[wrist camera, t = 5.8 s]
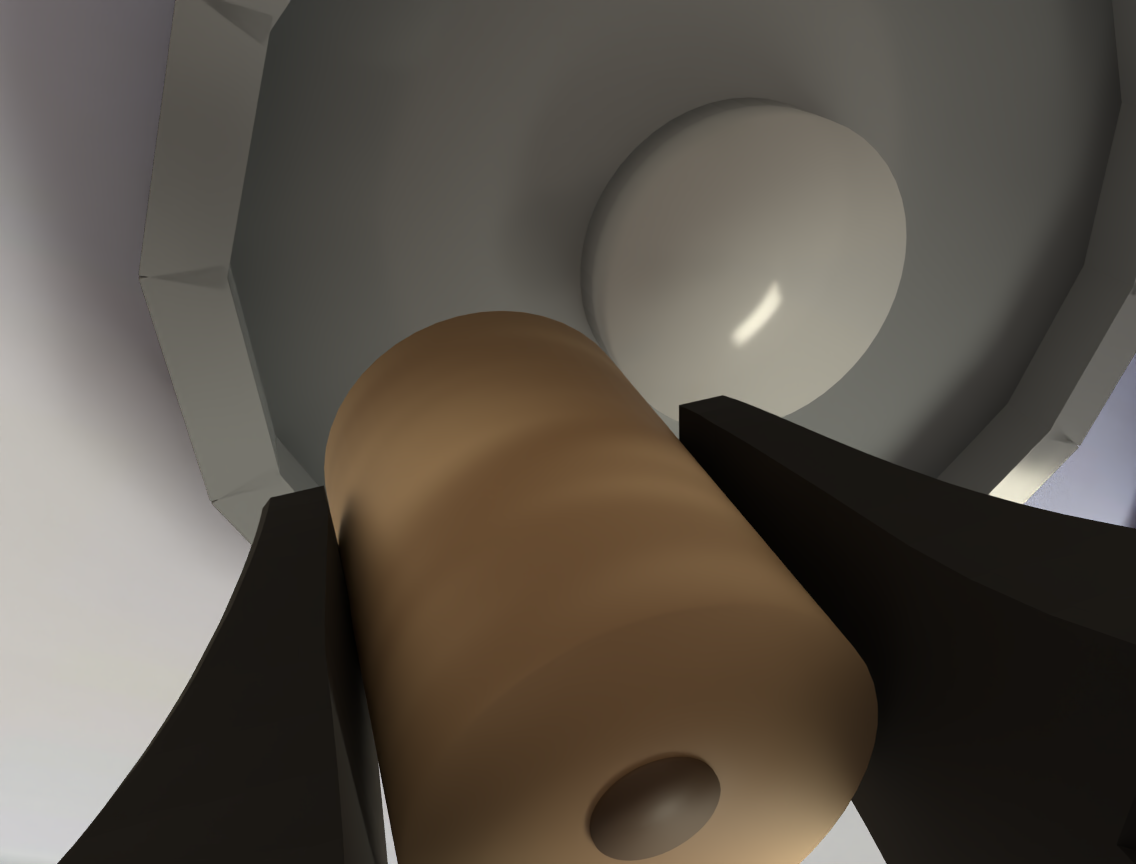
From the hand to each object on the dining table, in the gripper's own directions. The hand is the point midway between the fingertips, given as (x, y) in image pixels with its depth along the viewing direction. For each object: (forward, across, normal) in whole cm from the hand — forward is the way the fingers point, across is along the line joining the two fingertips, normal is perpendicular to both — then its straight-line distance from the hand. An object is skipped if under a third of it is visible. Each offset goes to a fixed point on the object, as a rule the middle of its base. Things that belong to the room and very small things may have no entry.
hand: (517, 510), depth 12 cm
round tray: (+7, -6, 0) cm, 9 cm away
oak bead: (+2, 0, 0) cm, 2 cm away
